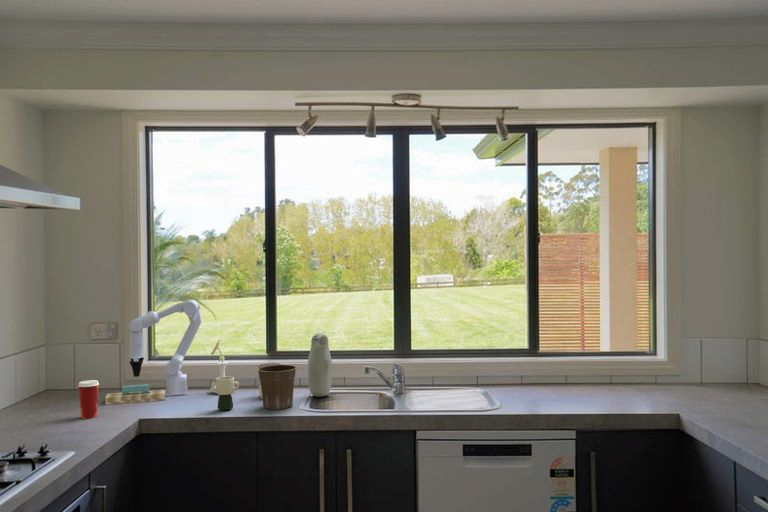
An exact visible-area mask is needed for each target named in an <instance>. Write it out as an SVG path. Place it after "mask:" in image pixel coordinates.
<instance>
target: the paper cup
mask: <svg viewBox="0 0 768 512" xmlns="http://www.w3.org/2000/svg"><path fill="white" fill-rule="evenodd" d="M99 385H100V383H99V381H98V380H97V379H96V380H95V379H89V380H82V381H79V383H78V385H77V387H78V391H79V392H78V393H79V406H80V417H81V419H82V420H90V419H94V418H97V417H98V404H99V403H98V402H99V401H98V400H99Z"/></svg>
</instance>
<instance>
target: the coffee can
mask: <svg viewBox="0 0 768 512" xmlns="http://www.w3.org/2000/svg"><path fill="white" fill-rule="evenodd" d="M271 365H282V363H275V362H273V363H271V362H270V363H262V364H259V365H258V366H257V367H258V368H260V367H264V366H271ZM258 393H259V394H258V398H259V399H262V390H261V382H260V379H259V378H258Z"/></svg>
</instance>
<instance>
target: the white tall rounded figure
mask: <svg viewBox="0 0 768 512" xmlns="http://www.w3.org/2000/svg"><path fill="white" fill-rule="evenodd" d="M310 343H311V345H310V351H309V353H308V358H307V377H308V378H307V381H308V382H307V383H308V390H309V392H310V394H311V395H312V396H314V397H318V398H321V397H326V396H327V395H329V393H330V392H331V389H332V373H333V372H332V367H333V366H332V365H333V363H332V362H333V361H332V356H331V351H330V346H329V339H328V336H327V335H326V334H325V333H315V334H313V336H312V338H311V341H310Z"/></svg>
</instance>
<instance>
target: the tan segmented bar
mask: <svg viewBox="0 0 768 512" xmlns="http://www.w3.org/2000/svg"><path fill="white" fill-rule="evenodd" d="M165 392H166V389H155V390H154V389H153V390H152V389H151V390H149V391H148V394H143V392H129V395H123V393H122V392H112V393H111V392H110V393H107V394H106V396H105V397H104V398H105V405H106V406H108V405H120V404H131V403H132V404H133V403H143V402H144V403H145V402H159V401H165V400H166V398H165V397H166V396H165Z"/></svg>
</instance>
